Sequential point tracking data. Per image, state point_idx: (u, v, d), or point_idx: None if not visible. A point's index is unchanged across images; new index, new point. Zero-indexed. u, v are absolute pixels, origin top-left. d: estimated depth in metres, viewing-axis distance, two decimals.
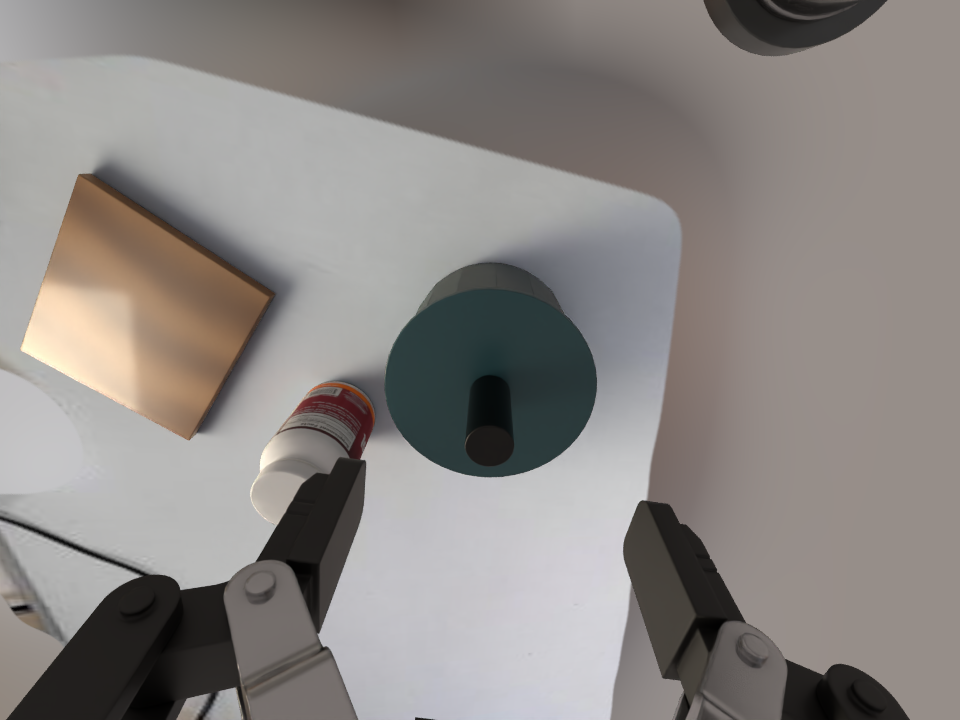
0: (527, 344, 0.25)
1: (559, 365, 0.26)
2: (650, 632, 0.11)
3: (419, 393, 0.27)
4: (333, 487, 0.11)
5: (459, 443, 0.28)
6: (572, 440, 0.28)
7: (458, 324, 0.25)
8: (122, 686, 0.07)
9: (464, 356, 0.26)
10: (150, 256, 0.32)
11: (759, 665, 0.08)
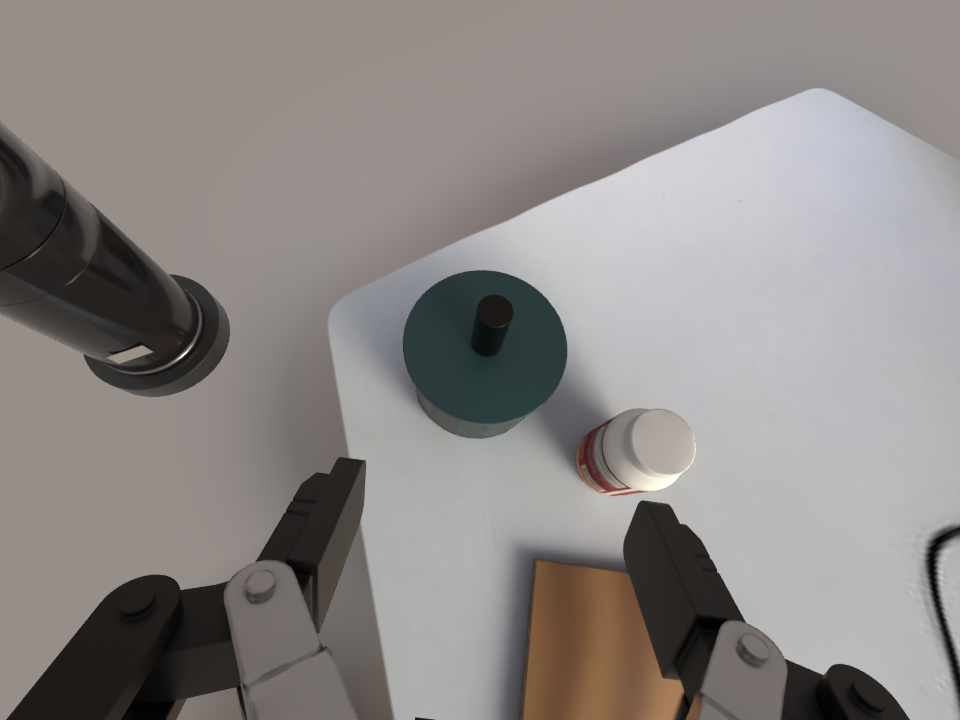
0: (437, 336, 0.34)
1: (440, 309, 0.35)
2: (649, 632, 0.11)
3: (515, 388, 0.33)
4: (333, 487, 0.11)
5: (539, 342, 0.34)
6: (490, 272, 0.36)
7: (447, 387, 0.33)
8: (122, 686, 0.07)
9: (468, 371, 0.33)
10: (557, 680, 0.34)
11: (759, 665, 0.08)
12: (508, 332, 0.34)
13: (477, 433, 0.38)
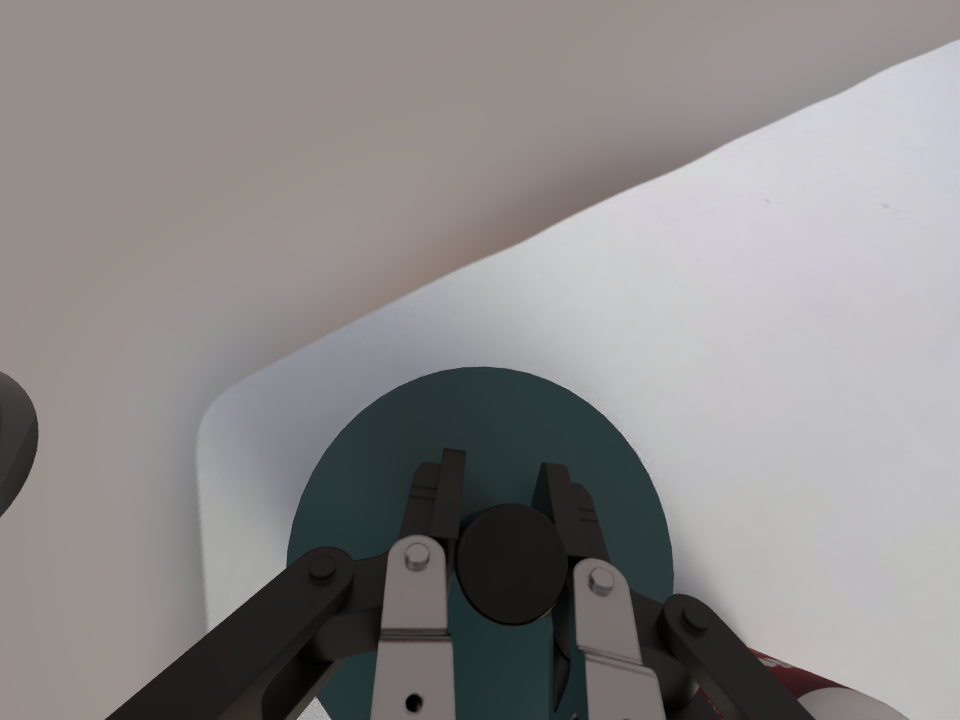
0: (371, 538, 0.14)
1: (381, 466, 0.15)
2: None
3: None
4: (448, 474, 0.12)
5: (608, 543, 0.15)
6: (495, 370, 0.17)
7: None
8: (290, 639, 0.08)
9: None
10: None
11: (603, 593, 0.09)
12: None
13: None
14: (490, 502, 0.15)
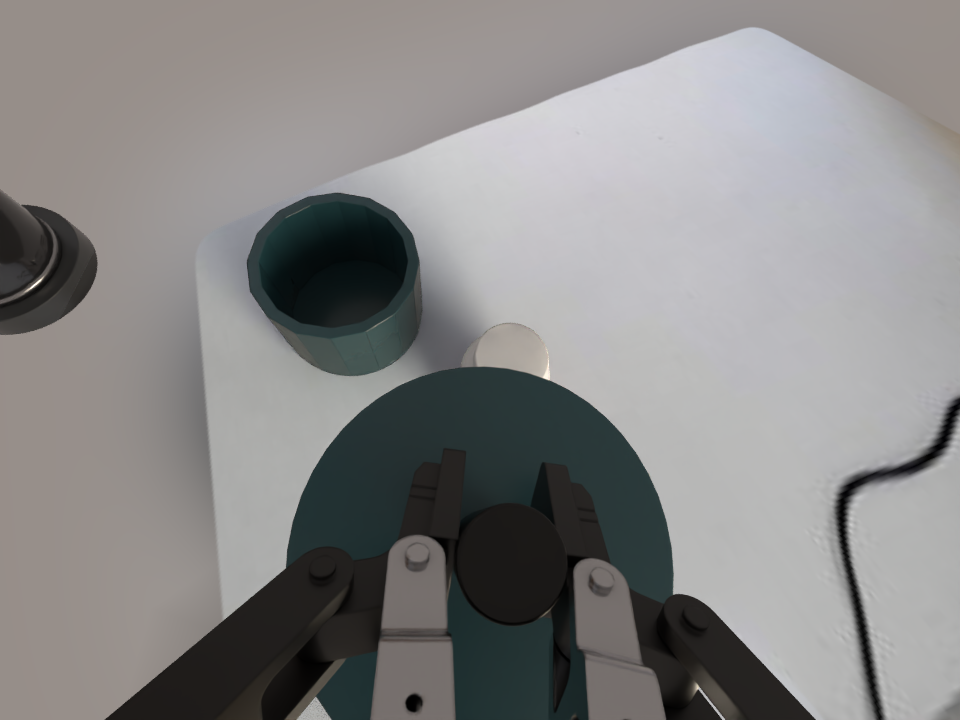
0: (371, 538, 0.14)
1: (381, 466, 0.15)
2: None
3: None
4: (448, 474, 0.12)
5: (608, 542, 0.15)
6: (494, 370, 0.17)
7: None
8: (290, 639, 0.08)
9: None
10: None
11: (602, 593, 0.09)
12: None
13: (340, 366, 0.35)
14: (490, 502, 0.15)
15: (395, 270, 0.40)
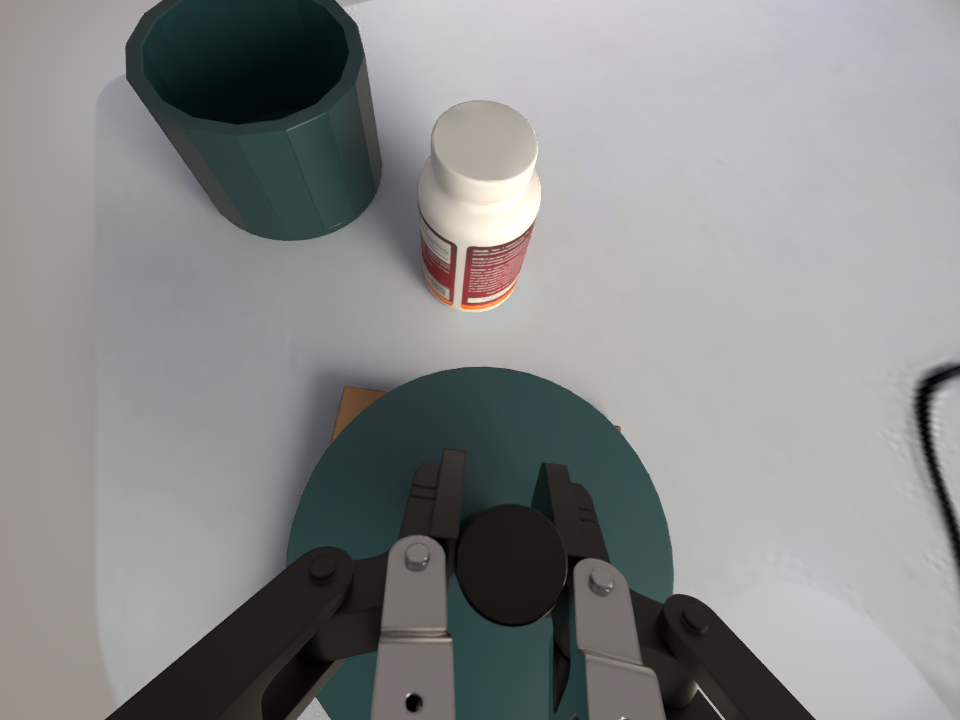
0: (371, 538, 0.14)
1: (381, 467, 0.15)
2: None
3: None
4: (448, 474, 0.12)
5: (608, 543, 0.15)
6: (495, 370, 0.17)
7: None
8: (290, 639, 0.08)
9: None
10: None
11: (602, 593, 0.09)
12: None
13: (268, 214, 0.26)
14: (490, 502, 0.15)
15: None
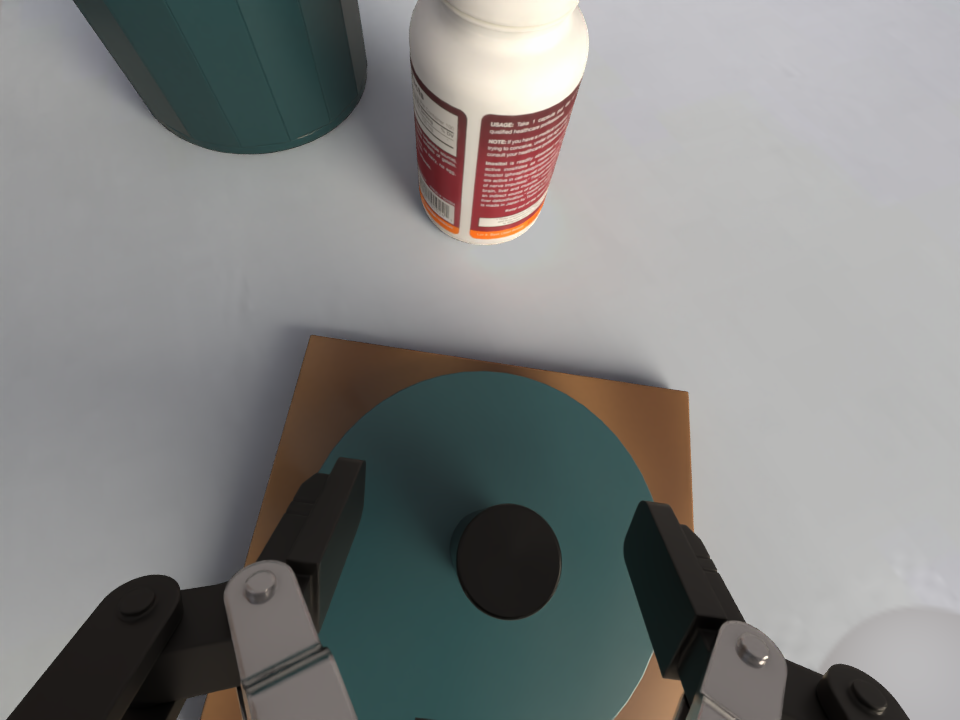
0: (374, 537, 0.15)
1: (383, 468, 0.16)
2: (649, 632, 0.11)
3: (554, 672, 0.14)
4: (333, 487, 0.11)
5: (603, 542, 0.15)
6: (494, 374, 0.17)
7: (392, 678, 0.14)
8: (122, 686, 0.07)
9: (444, 630, 0.14)
10: None
11: (759, 665, 0.08)
12: None
13: (210, 107, 0.20)
14: (489, 502, 0.16)
15: None
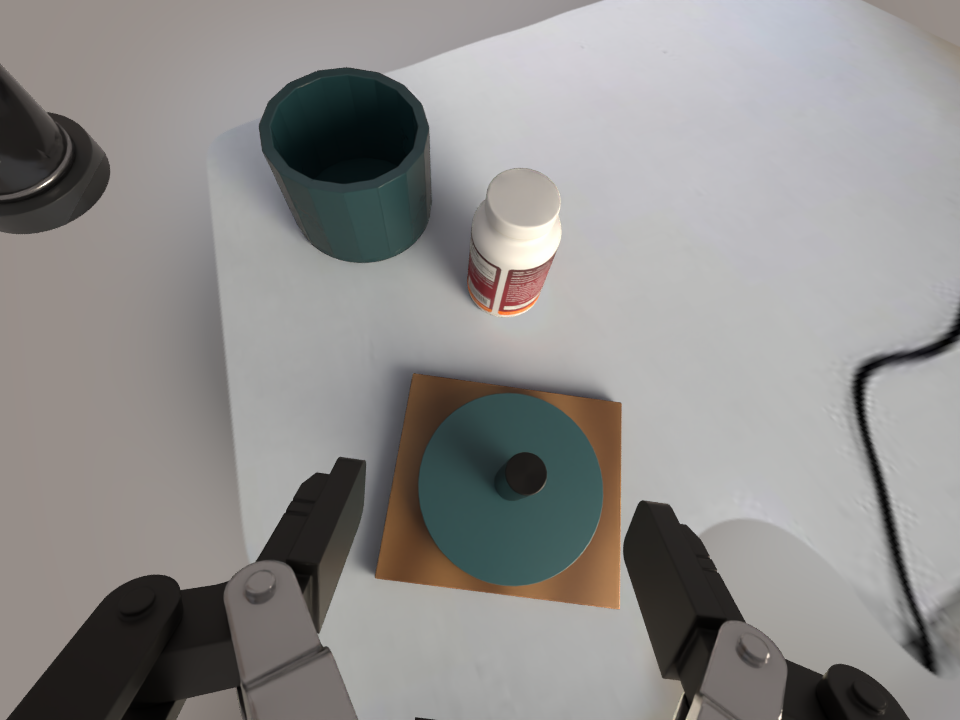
0: (457, 477, 0.30)
1: (459, 443, 0.31)
2: (649, 632, 0.11)
3: (546, 539, 0.29)
4: (333, 487, 0.11)
5: (571, 480, 0.30)
6: (514, 394, 0.32)
7: (469, 541, 0.29)
8: (122, 686, 0.07)
9: (493, 520, 0.29)
10: None
11: (759, 665, 0.08)
12: None
13: (352, 244, 0.35)
14: None
15: None
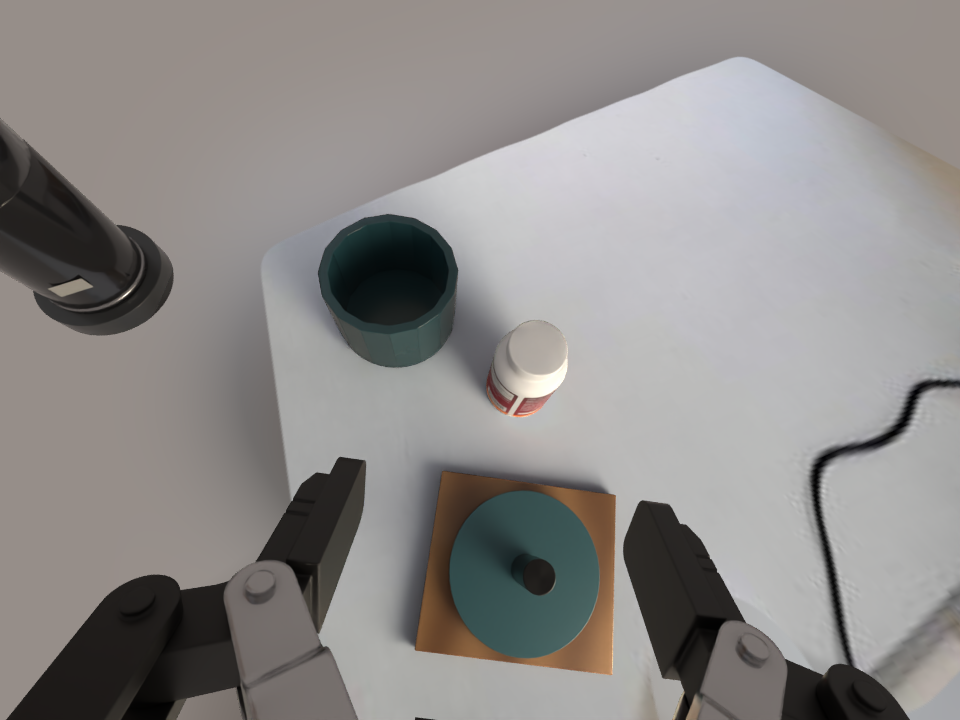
0: (480, 565, 0.37)
1: (482, 536, 0.37)
2: (649, 632, 0.11)
3: (553, 618, 0.36)
4: (333, 487, 0.11)
5: (573, 567, 0.37)
6: (526, 492, 0.39)
7: (491, 620, 0.35)
8: (122, 686, 0.07)
9: (510, 602, 0.36)
10: None
11: (759, 665, 0.08)
12: (545, 557, 0.37)
13: (390, 358, 0.41)
14: (526, 550, 0.37)
15: (431, 277, 0.46)
